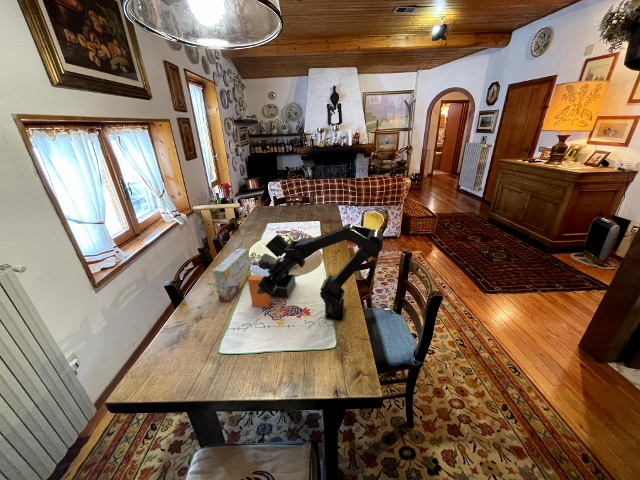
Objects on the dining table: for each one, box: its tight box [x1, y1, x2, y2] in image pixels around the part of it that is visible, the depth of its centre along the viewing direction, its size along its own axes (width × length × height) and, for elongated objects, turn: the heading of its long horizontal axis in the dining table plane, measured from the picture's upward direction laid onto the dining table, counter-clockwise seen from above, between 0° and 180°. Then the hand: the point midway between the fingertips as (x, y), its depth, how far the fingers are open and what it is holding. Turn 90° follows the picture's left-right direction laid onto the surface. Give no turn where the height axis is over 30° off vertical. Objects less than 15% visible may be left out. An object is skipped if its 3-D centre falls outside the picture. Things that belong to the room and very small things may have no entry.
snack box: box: [212, 248, 252, 302], centre depth 114 cm, size 21×6×15 cm, turn 168°
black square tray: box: [270, 273, 296, 299], centre depth 113 cm, size 11×11×5 cm
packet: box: [247, 274, 272, 309], centre depth 102 cm, size 7×3×13 cm, turn 78°
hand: (262, 286), depth 101 cm, fingers open, 9 cm apart
